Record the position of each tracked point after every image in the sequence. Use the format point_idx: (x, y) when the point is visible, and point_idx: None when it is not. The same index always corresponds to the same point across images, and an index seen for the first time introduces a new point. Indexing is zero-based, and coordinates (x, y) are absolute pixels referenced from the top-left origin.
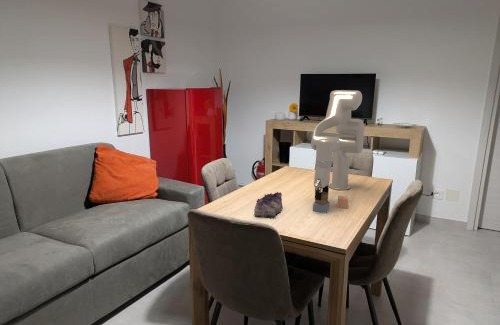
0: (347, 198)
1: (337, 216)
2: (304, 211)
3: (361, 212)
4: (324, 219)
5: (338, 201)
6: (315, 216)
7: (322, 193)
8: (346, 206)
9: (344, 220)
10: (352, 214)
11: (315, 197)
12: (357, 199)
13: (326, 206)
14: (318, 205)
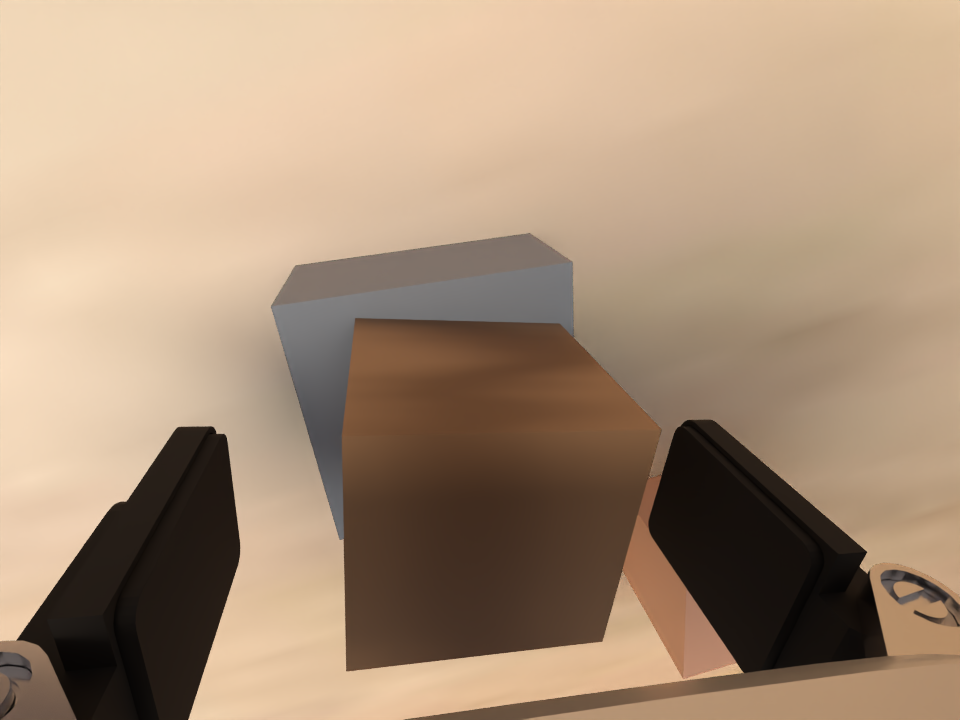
0: (720, 663)
1: (307, 587)
2: (180, 130)
3: (560, 686)
4: (75, 520)
5: (660, 556)
6: (87, 385)
7: (478, 574)
8: (633, 584)
9: (231, 672)
10: (463, 659)
11: (164, 472)
12: (928, 550)
13: (337, 521)
14: (305, 402)
